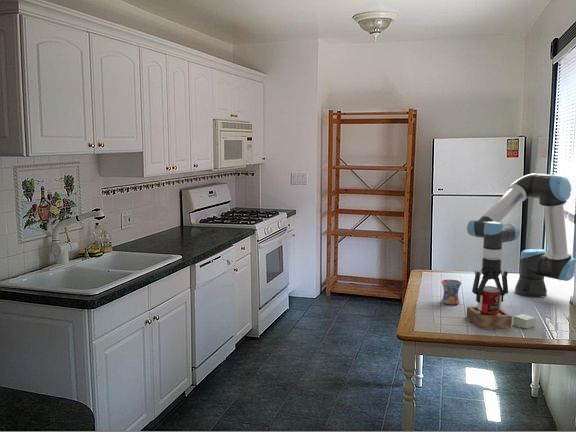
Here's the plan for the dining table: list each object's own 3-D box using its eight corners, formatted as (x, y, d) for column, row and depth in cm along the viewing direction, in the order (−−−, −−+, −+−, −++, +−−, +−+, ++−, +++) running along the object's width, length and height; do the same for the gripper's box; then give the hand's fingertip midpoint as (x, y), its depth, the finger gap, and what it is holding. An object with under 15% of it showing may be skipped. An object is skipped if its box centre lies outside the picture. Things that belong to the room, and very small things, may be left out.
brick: (522, 322, 240) (523, 313, 239) (534, 326, 234) (535, 317, 234) (513, 324, 237) (514, 316, 236) (525, 329, 231) (526, 320, 231)
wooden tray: (497, 317, 246) (497, 306, 245) (511, 327, 232) (511, 316, 231) (466, 317, 245) (467, 306, 245) (478, 328, 232) (479, 316, 231)
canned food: (489, 316, 233) (491, 291, 231) (475, 311, 240) (476, 287, 238) (502, 314, 236) (504, 289, 235) (488, 309, 243) (489, 285, 242)
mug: (456, 307, 261) (457, 285, 259) (437, 303, 266) (438, 282, 264) (464, 301, 270) (465, 280, 269) (446, 297, 276) (447, 277, 274)
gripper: (511, 255, 239) (508, 306, 242) (465, 256, 238) (462, 306, 241) (519, 259, 231) (516, 311, 235) (471, 260, 230) (469, 312, 234)
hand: (489, 309), depth 238 cm, fingers closed on canned food, 8 cm apart
